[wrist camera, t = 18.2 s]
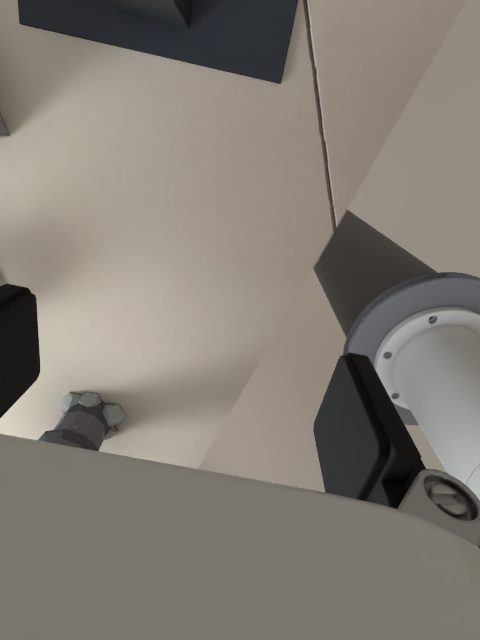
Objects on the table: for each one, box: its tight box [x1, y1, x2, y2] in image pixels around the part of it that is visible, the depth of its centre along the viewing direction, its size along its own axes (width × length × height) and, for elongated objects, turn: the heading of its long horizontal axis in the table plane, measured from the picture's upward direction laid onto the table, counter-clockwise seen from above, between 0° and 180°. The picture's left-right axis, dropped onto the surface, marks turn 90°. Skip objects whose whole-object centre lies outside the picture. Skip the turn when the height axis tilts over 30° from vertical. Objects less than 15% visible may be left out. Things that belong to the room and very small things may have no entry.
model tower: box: [38, 392, 126, 451], centre depth 30 cm, size 10×11×30 cm
